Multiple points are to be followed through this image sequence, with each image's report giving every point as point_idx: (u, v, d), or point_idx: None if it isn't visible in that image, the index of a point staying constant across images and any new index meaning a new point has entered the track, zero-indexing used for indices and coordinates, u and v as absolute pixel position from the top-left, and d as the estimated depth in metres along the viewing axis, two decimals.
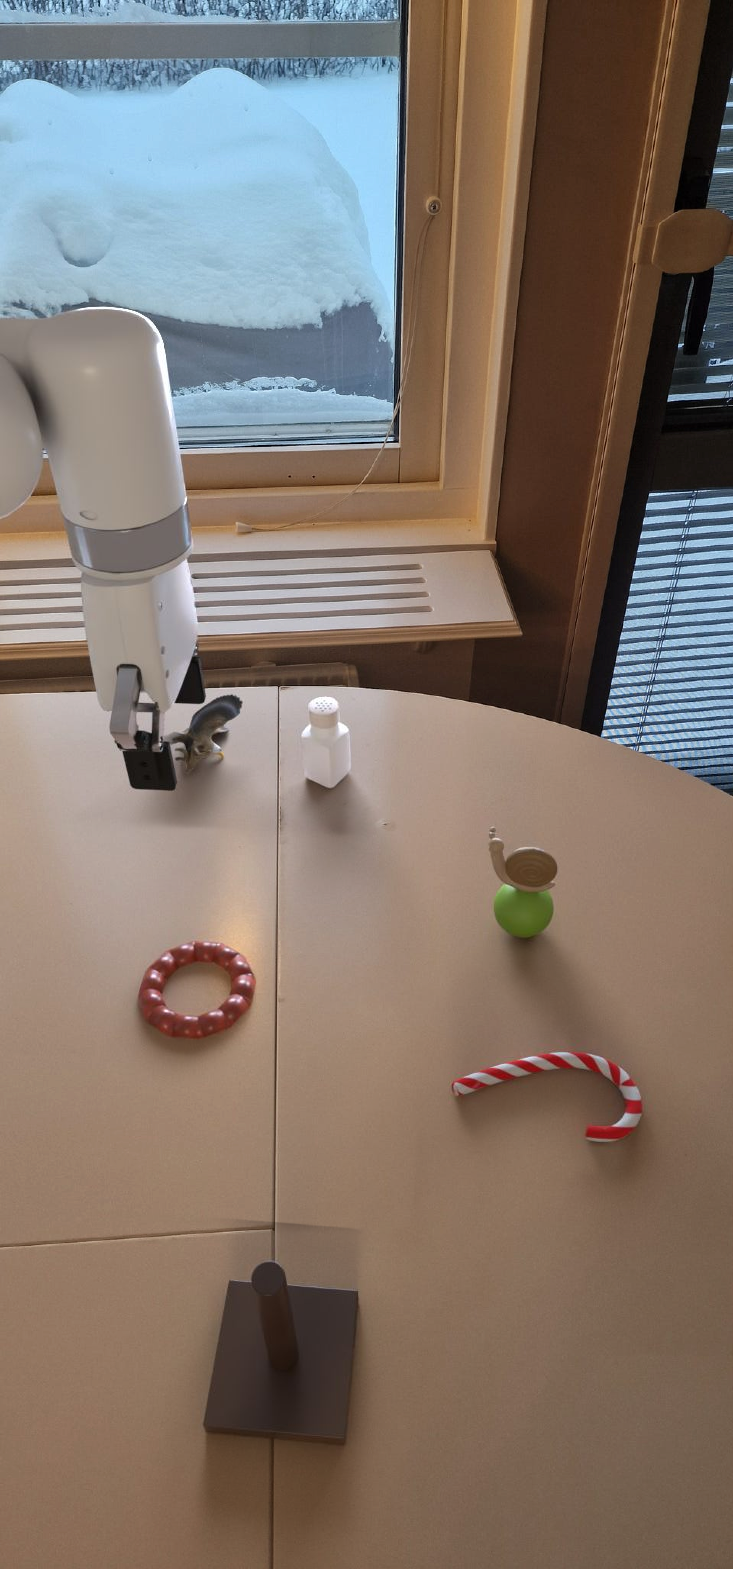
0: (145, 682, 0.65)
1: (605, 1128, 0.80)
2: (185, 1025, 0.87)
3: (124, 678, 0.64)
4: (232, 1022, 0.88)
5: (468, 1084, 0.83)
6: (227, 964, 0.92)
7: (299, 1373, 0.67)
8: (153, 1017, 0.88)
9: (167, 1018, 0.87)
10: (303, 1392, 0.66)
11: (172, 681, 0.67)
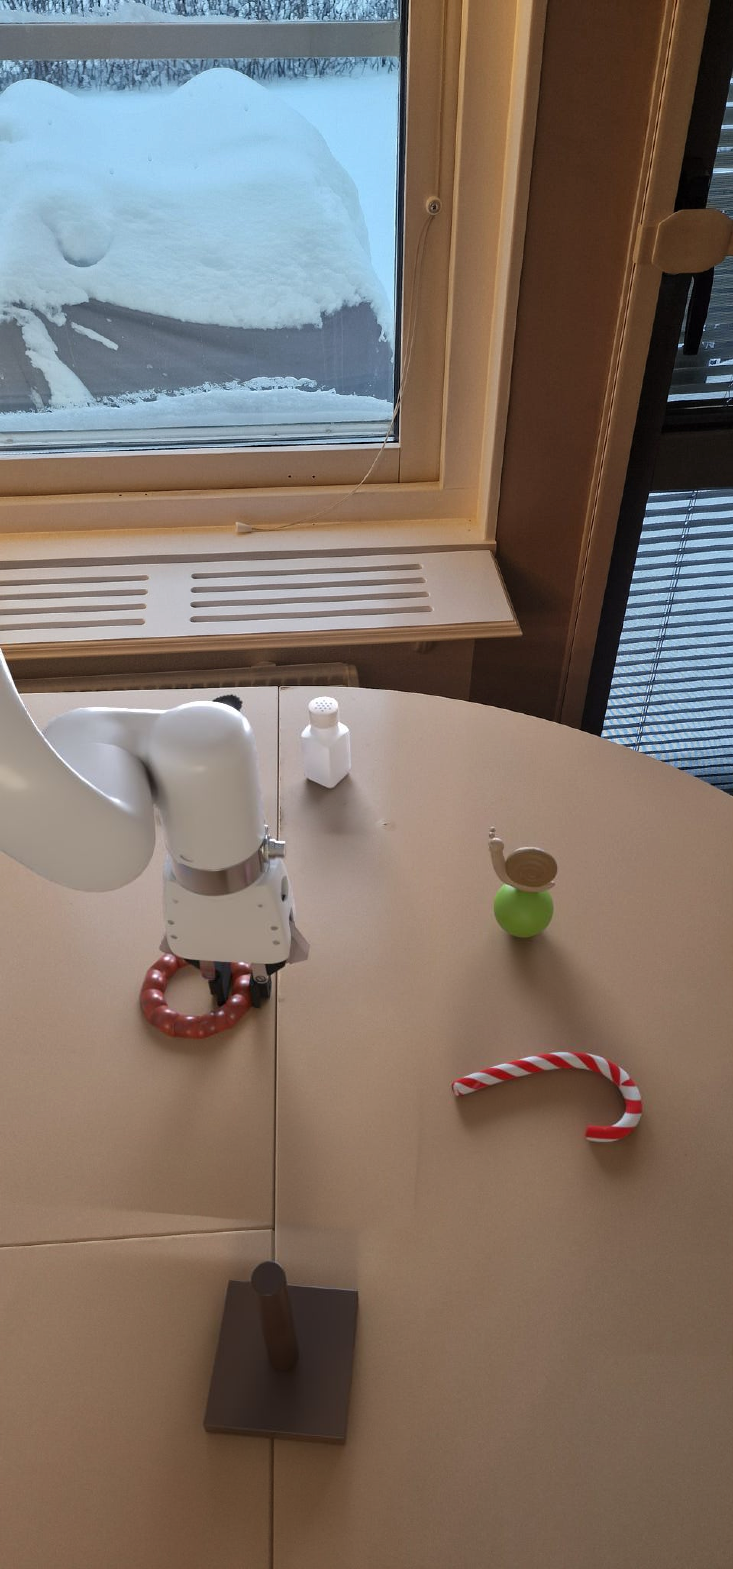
0: None
1: (605, 1128, 0.80)
2: (187, 1025, 0.87)
3: None
4: (234, 1022, 0.88)
5: (468, 1084, 0.83)
6: None
7: (299, 1373, 0.67)
8: (155, 1018, 0.88)
9: (169, 1018, 0.87)
10: (303, 1392, 0.66)
11: (183, 946, 0.83)
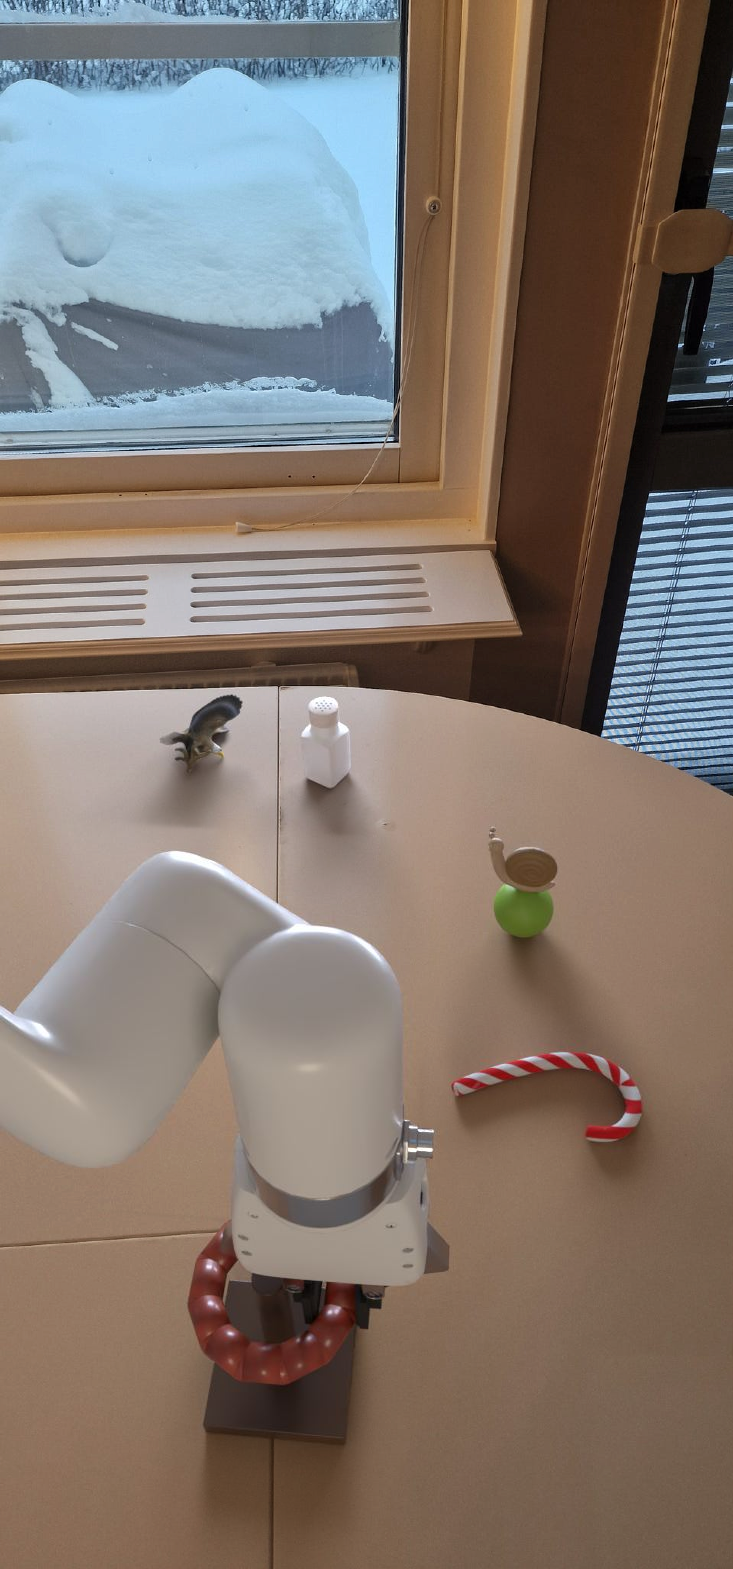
0: None
1: (605, 1128, 0.80)
2: (262, 1364, 0.57)
3: None
4: (332, 1354, 0.58)
5: (468, 1084, 0.83)
6: None
7: None
8: (213, 1348, 0.58)
9: (234, 1351, 0.58)
10: (303, 1392, 0.66)
11: (261, 1263, 0.54)
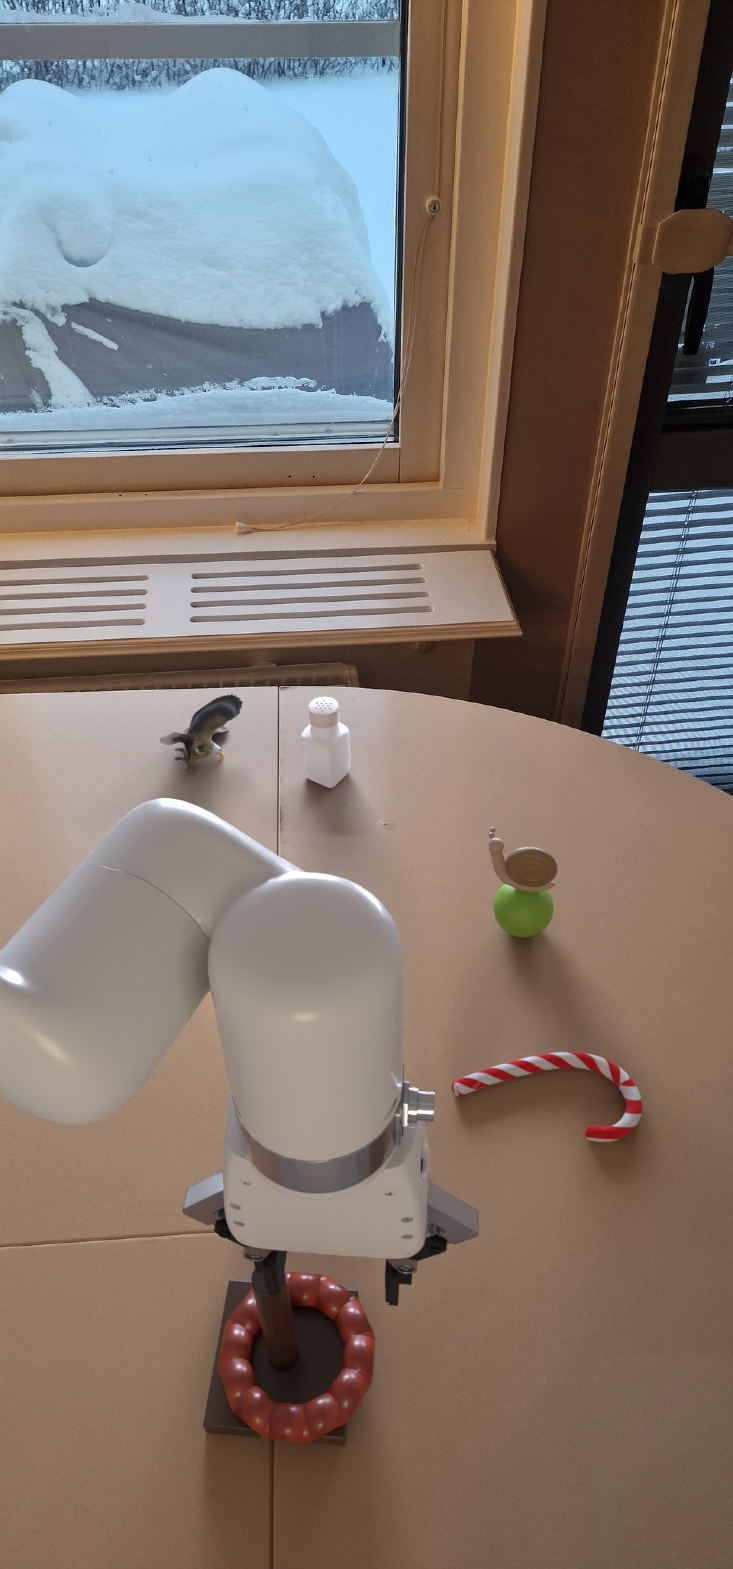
0: None
1: (605, 1128, 0.80)
2: (287, 1424, 0.63)
3: (222, 1177, 0.53)
4: (349, 1415, 0.64)
5: (468, 1084, 0.83)
6: (336, 1313, 0.68)
7: (299, 1373, 0.67)
8: (242, 1408, 0.64)
9: (261, 1412, 0.64)
10: (303, 1392, 0.66)
11: (254, 1234, 0.51)
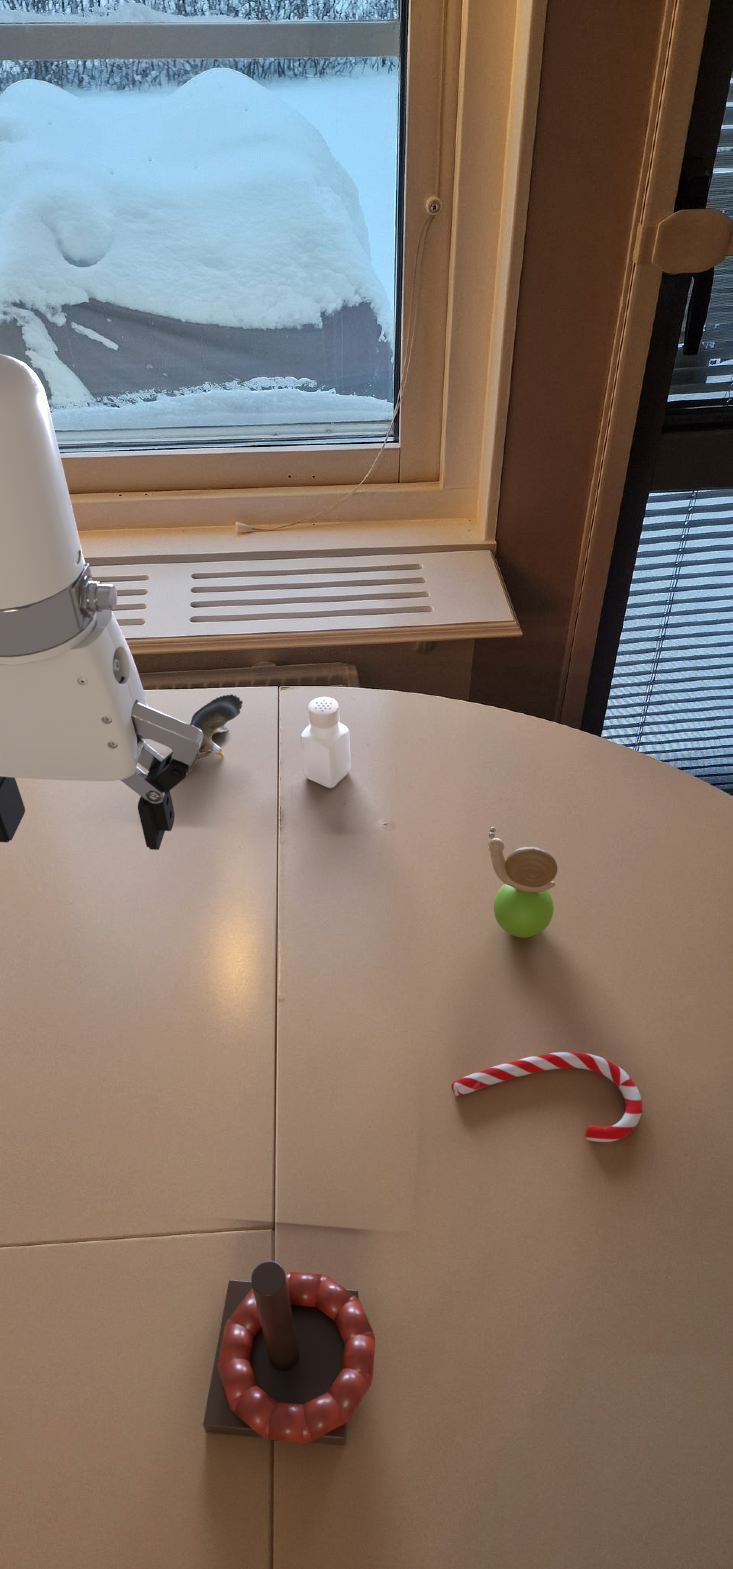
0: None
1: (605, 1128, 0.80)
2: (287, 1424, 0.63)
3: None
4: (349, 1415, 0.64)
5: (468, 1084, 0.83)
6: (336, 1313, 0.68)
7: (299, 1373, 0.67)
8: (242, 1408, 0.64)
9: (261, 1412, 0.64)
10: (303, 1392, 0.66)
11: None
